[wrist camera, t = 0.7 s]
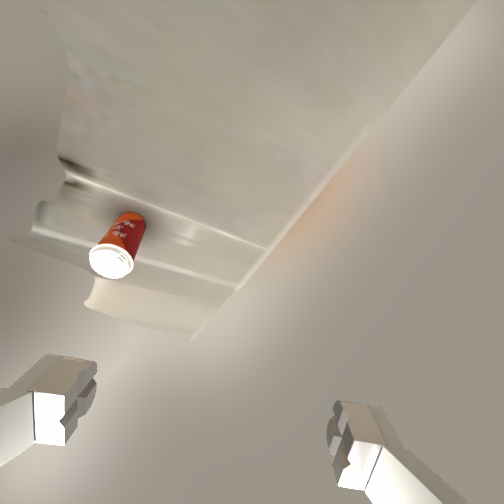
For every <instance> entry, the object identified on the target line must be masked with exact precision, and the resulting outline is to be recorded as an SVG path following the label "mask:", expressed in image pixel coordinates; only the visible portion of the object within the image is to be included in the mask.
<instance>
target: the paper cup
mask: <svg viewBox="0 0 504 504" xmlns="http://www.w3.org/2000/svg"><path fill="white" fill-rule="evenodd" d="M145 227H146V224H145V221H144V219H143V218H142V217H141V216H140V215H138V214H136V213H133V212H126V213H124V214H122V215H121V216H120V217H119V218H118V220H117V221H116V222H115V223H114V225H113V226H112V227H111V228H110V230H109V231H108V232H107V233H106V235H105V236H104V237H103V238H102V240H101V241H100V242H99V244H98V245H96V246H95V247H93V248H92V249H91V251H90V264H91V266H92V268H93V269H94V270H95V271H96V272H97V273H99V274H100V275H102V276H105V277H108V278H113V279H116V278H121V277H123V276H125V275H126V274H128V273H129V272H130V271H131V270H132V268H133V261H134V258H135V255H136V253H137V250H138V247H139V245H140V242H141V239H142V236H143V234H144V231H145Z"/></svg>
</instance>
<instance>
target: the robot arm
mask: <svg viewBox="0 0 504 504" xmlns="http://www.w3.org/2000/svg"><path fill="white" fill-rule="evenodd" d="M96 372H97V364H96V362H94V361H89V360H83V359H78V358H72V357H67V356H60V355H55V354H48V355H45V356H44V357H43V358H41V360H39V361H38V362H37V363H36V364H35V365H34V366H33V367H32V368H30V369H29V370H28V371H27V372H26V373H25V374H24V375H23V376H22V377H20V378H19V379H18V380H17V381H16V382H15V383H14V384H13V385H12V386H10V387H9V388H1V389H0V467H1V466H2V465H4V464H5V463H7V462H8V461H10V460H11V459H13V458H14V457H16V456H17V455H18V454H20V453H21V452H23V451H24V450H26V449H27V448H29V447H30V446H32V445H33V444H34V442H38V443H46V444H55V445H65V443H66V442H67V441H68V439H69V438H70V436H71V435H72V433H73V432H74V430H75V429H76V427H77V419H78V418H80V417H81V416H83V415H85V414H86V412H87V411H88V410H89V408H90V407H91V404H92V402H93V399H94V397H95V392H96V382H95V380H94V379H93V376H94V375H95V374H96ZM333 412H334V415H335V416H333V417H332V418H331V419H329V422H328V426H327V444H328V448H329V452H330V453H331V454H332V455H333V456H334V457H335V458H334V461H333V468H334V472H335V476H336V480H337V484H338V486H342V487H347V488H353V489H359V490H364V491H365V493H366V494H367V496H368V497H369V499H370V500H371V501H372V503H373V504H471V503H469V502H468V501H467V500H466V499H465V498H464V497H463V496H461V495H460V494H459V493H458V492H457V491H456V490H455V489H453V488H452V487H451V486H450V485H449V484H448V483H447V482H445V481H444V480H443V479H442V478H441V477H440V476H439V475H437V474H436V473H435V472H434V471H433V470H432V469H431V468H429V467H428V466H427V465H426V464H425V463H424V462H423V461H421V460H420V459H419V458H418V457H417V456H416V455H415V454H413V453H412V452H411V451H410V450H407V449H404V447H403V445H402V443H401V441H400V439H399V438H398V435H397V433H396V432H395V430H394V428H393V426H392V424H391V422H390V420H389V418H388V416H387V414H386V413H385V411H384V409H383V408H382V407H381V406H377V405H370V404H360V403H354V402H347V401H340V400H337V401H336V402H335V404H334V407H333Z"/></svg>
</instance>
